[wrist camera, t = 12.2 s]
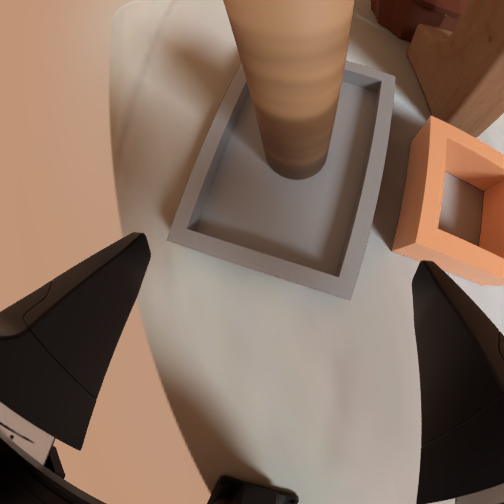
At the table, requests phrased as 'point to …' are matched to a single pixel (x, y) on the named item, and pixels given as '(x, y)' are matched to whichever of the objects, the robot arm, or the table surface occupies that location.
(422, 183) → the orange square ring
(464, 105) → the wooden block
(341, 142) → the tray
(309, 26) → the dowel pin
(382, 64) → the table surface
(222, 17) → the table surface
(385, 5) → the muffin
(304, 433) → the table surface
